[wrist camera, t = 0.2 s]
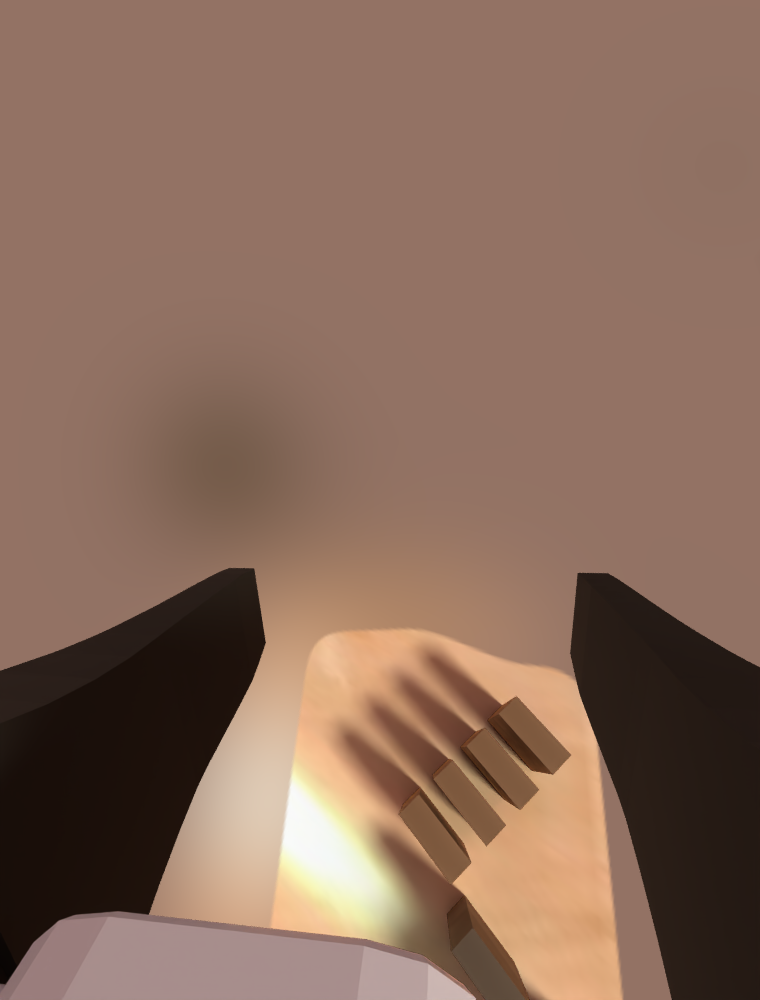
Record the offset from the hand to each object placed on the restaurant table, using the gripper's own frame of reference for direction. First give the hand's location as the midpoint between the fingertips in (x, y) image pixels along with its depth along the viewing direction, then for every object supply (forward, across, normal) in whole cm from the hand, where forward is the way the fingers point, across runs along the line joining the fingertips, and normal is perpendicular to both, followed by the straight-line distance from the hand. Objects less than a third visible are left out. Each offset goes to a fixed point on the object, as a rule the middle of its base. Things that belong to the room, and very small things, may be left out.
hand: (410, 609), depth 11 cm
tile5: (+20, -6, +24) cm, 32 cm away
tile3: (+17, -2, +26) cm, 32 cm away
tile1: (+12, -3, +32) cm, 34 cm away
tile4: (+19, -4, +25) cm, 31 cm away
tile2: (+16, 0, +28) cm, 32 cm away
